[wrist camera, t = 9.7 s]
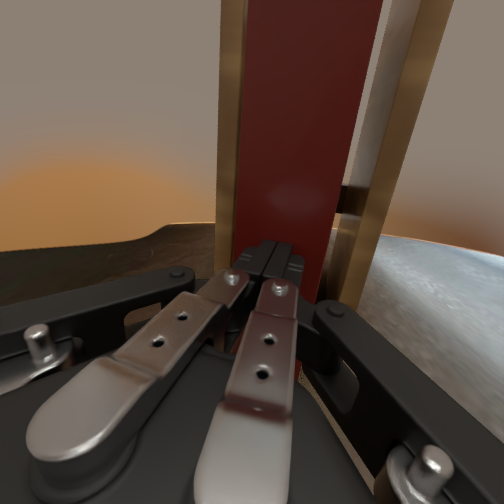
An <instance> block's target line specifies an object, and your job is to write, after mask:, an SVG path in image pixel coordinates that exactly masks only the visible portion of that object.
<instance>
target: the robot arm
mask: <svg viewBox="0 0 504 504" xmlns="http://www.w3.org/2000/svg"><path fill="white" fill-rule="evenodd" d="M292 251H293V244H289V243H283V242H278V241H272V240H267V239H263V240H262V242H261V243H260V245H259V246H258V247H254V246H251V247H249V248H246V249H244V251H243V252H242V253H241V255H240V256H239V257H238V259H237V260H236V261H235V263H234V264H233V265H232V267H231V268H226V269H222V270H220V271H218V272H217V273H216V274H215V275H214V276H213V277H212V278H211V279H195V272H194V271H193V270H192V269H190V268H188V267H184V266H173V267H168V268H164V269H159V270H155V271H151V272H147V273H142V274H138V275H134V276H130V277H125V278H121V279H117V280H113V281H108V282H104V283H100V284H96V285H91V286H87V287H83V288H79V289H74V290H70V291H66V292H62V293H57V294H53V295H49V296H45V297H40V298H36V299H32V300H28V301H23V302H19V303H15V304H11V305H6V306H2V307H0V504H504V444H503V443H502V442H501V441H500V440H499V439H498V438H497V437H495V436H494V435H493V434H492V433H491V432H490V431H489V430H488V429H486V428H485V427H484V426H483V425H482V424H481V423H480V422H479V421H477V420H476V419H475V418H474V417H473V416H472V415H471V414H470V413H468V412H467V411H466V410H465V409H464V408H463V407H462V406H461V405H459V404H458V403H457V402H456V401H455V400H454V399H453V398H452V397H450V396H449V395H448V394H447V393H446V392H445V391H444V390H443V389H441V388H440V387H439V386H438V385H437V384H436V383H435V382H434V381H432V380H431V379H430V378H429V377H428V376H427V375H426V374H425V373H423V372H422V371H421V370H420V369H419V368H418V367H417V366H416V365H414V364H413V363H412V362H411V361H410V360H409V359H408V358H407V357H405V356H404V355H403V354H402V353H401V352H400V351H399V350H398V349H396V348H395V347H394V346H393V345H392V344H391V343H390V342H389V341H387V340H386V339H385V338H384V337H383V336H382V335H381V334H379V333H378V332H377V331H376V330H375V329H374V328H373V327H372V326H370V325H369V324H368V323H367V322H366V321H365V320H364V319H363V318H361V317H360V316H359V315H358V314H357V313H356V312H355V311H354V310H352V309H351V308H350V307H349V306H347V305H345V304H343V303H341V302H338V301H334V300H323V301H320V302H318V303H317V304H316V305H314V304H312V303H310V302H308V301H307V300H305V299H304V298H303V297H302V296H301V295H300V293H299V290H300V285H301V280H302V275H303V270H304V264H305V260H304V259H303V257H302V256H300V255H295V254H292ZM159 302H161V311H160V312H159V313H158V314H157V315H156V316H155V317H153V318H150V319H147V320H144V321H141V322H138V323H135V324H132V325H129V326H124V318H125V316H126V315H127V314H128V313H129V312H131V311H133V310H136V309H139V308H143V307H146V306H149V305H152V304H156V303H159ZM246 324H247V325H246ZM245 326H246V328H245ZM241 339H242V340H241ZM240 340H241V343H240V346H239V349H238V352H237V354H236V353H234V351H235V349H236V347H237V346H238V344H239V342H240ZM295 359H297V360H299V361H300V362H302V369H303V372H304V374H305V375H306V377H307V378H308V380H309V381H310V383H311V384H312V386H313V387H314V389H315V390H316V392H317V393H318V395H319V396H320V398H321V399H322V401H323V402H324V404H325V405H326V407H327V408H328V410H329V411H330V413H331V414H332V416H333V417H334V419H335V420H336V422H337V423H338V425H339V426H340V428H341V429H342V431H343V432H344V434H345V435H346V437H347V438H348V440H349V441H350V443H351V444H352V446H353V447H354V449H355V450H356V452H357V453H358V455H359V456H360V458H361V459H362V461H363V462H364V464H365V465H366V467H367V468H368V470H369V471H370V473H371V474H372V476H373V477H374V479H375V481H374V490H373V491H374V496H373V494H372V493H371V491H370V489H369V488H368V486H367V484H366V483H365V481H364V479H363V478H362V476H361V474H360V473H359V471H358V469H357V468H356V466H355V464H354V463H353V461H352V459H351V458H350V456H349V454H348V453H347V451H346V449H345V448H344V446H343V444H342V443H341V441H340V439H339V438H338V436H337V435H336V433H335V431H334V430H333V428H332V426H331V425H330V423H329V421H328V420H327V418H326V416H325V415H324V413H323V411H322V410H321V408H320V406H319V405H318V403H317V402H316V400H315V399H314V398H313V396H312V395H311V394H310V393H309V392H308V391H307V390H306V389H305V388H304V387H303V386H302V385H301V384H300V383H299V382H297V381H296V380H294V371H295ZM343 360H344V361H345V362H346V364H347V365H348V366H349V367H350V368H351V369H352V371H353V372H354V373H355V375H356V377H357V378H356V377H355V375H354V374H353V373H352V372H351V371H350V370H349V368H348V367H347V366H346V365H345V364H344V363H343Z"/></svg>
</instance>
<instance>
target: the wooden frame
mask: <svg viewBox="0 0 504 504" xmlns="http://www.w3.org/2000/svg"><path fill="white" fill-rule="evenodd" d="M453 2H454V0H392V4H391V8H390V12H389V16H388V21H387V25H386V30H385V33H384V37H383V42H382V46H381V50H380V54H379V59H378V63H377V67H376V71H375V75H374V80H373V84H372V88H371V92H370V97H369V101H368V105H367V109H366V113H365V117H364V121H363V126H362V130H361V134H360V138H359V143H358V147H357V151H356V155H355V159H354V164H353V168H352V172H351V176H350V180H349V184H343V183H342V185H341V190H340V194H339V199H338V203H337V208H336V212H335V213H340V214H341V219H340V222H339V227H338V231H337V235H336V239H335V243H334V248H333V252H332V256H331V260H330V264H329V269H328V273H327V287H326V300H334V301H338V302H341V303H343V304H345V305H347V306H349V307H350V308H351V309H352V310H354V311H355V312H356V310H357V307H358V304H359V301H360V297H361V294H362V291H363V288H364V285H365V282H366V278H367V275H368V272H369V269H370V266H371V263H372V259H373V256H374V253H375V250H376V247H377V243H378V240H379V237H380V234H381V231H382V227H383V224H384V221H385V218H386V215H387V211H388V208H389V205H390V202H391V199H392V196H393V193H394V189H395V186H396V183H397V180H398V177H399V174H400V170H401V167H402V164H403V161H404V158H405V154H406V151H407V148H408V145H409V142H410V139H411V135H412V132H413V129H414V126H415V123H416V119H417V116H418V113H419V110H420V106H421V103H422V100H423V97H424V94H425V91H426V87H427V85H428V81H429V78H430V75H431V72H432V69H433V65H434V62H435V59H436V56H437V53H438V49H439V46H440V43H441V40H442V37H443V34H444V30H445V27H446V24H447V21H448V18H449V14H450V12H451V8H452V5H453ZM247 11H248V0H221V22H220V24H221V25H220V62H219V63H220V64H219V102H218V143H217V184H216V223H215V264H214V275H215V274H216V273H217V272H218V271H220V270H222V269H226V268H231V267H232V265H233V254H234V236H235V219H236V202H237V184H238V167H239V150H240V132H241V115H242V97H243V80H244V63H245V45H246V28H247Z"/></svg>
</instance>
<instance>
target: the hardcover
mask: <svg viewBox="0 0 504 504" xmlns="http://www.w3.org/2000/svg"><path fill="white" fill-rule="evenodd" d="M382 3H383V0H248V11H247V28H246V45H245V63H244V80H243V97H242V115H241V132H240V150H239V167H238V184H237V202H236V219H235V236H234V254H233V264H234V263H235V261H236V260H237V259H238V257H239V256H240V255H241V253H242V252H243V251H244V249H246V248H249V247H251V246H254V247H258V246H259V245H260V243H261V242H262V240H263V239H267V240H272V241H278V242H283V243H289V244H293V251H292V254H295V255H300V256H302V257H303V259H304V260H305V264H304V270H303V275H302V280H301V285H300V290H299V293H300V295H301V296H302V297H303V298H304V299H305V300H307V301H308V302H310V303H312V304H314V305H315V301H316V296H317V292H318V288H319V283H320V279H321V274H322V270H323V265H324V261H325V256H326V252H327V248H328V243H329V239H330V234H331V230H332V225H333V221H334V217H335V212H336V208H337V203H338V199H339V194H340V190H341V185H342V181H343V177H344V172H345V167H346V163H347V159H348V154H349V150H350V146H351V140H352V137H353V132H354V128H355V123H356V119H357V114H358V110H359V106H360V101H361V97H362V92H363V88H364V83H365V79H366V75H367V69H368V66H369V61H370V57H371V52H372V48H373V43H374V39H375V35H376V30H377V26H378V21H379V17H380V12H381V8H382ZM246 325H247V324H246ZM245 328H246V326H245ZM241 340H242V339H241ZM241 340H240V342H239V344H238V346H237V347H236V349H235V351H234V353H236V354H237V352H238V349H239V346H240V343H241ZM301 363H302V362H300V361H299V360H297V359H295V371H294V380H296V381H298V376H299V372H300V367H301Z"/></svg>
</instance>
